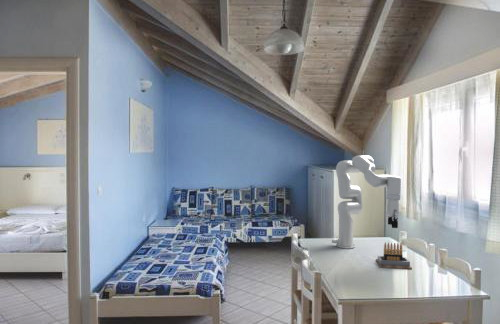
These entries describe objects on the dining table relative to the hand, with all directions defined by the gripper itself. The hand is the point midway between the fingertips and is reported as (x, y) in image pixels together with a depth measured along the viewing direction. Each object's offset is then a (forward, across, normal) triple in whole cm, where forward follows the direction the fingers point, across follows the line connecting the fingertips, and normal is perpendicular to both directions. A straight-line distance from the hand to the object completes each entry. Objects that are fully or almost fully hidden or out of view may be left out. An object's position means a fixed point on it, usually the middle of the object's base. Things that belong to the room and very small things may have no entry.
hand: (392, 226), depth 216 cm
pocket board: (+22, +2, +1) cm, 22 cm away
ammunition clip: (+22, +2, 0) cm, 22 cm away
